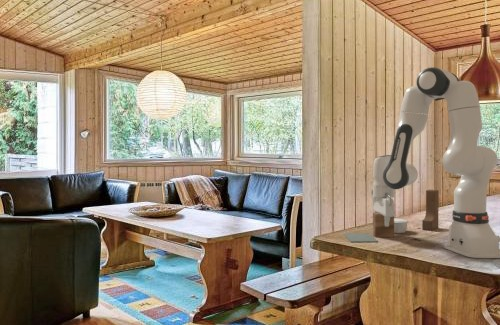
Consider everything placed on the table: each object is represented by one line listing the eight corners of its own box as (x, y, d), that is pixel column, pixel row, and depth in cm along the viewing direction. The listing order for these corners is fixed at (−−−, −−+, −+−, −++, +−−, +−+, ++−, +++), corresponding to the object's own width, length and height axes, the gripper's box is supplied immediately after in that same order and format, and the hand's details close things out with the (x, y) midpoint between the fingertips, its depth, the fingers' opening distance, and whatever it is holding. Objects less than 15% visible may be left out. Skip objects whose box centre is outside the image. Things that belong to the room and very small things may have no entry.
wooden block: (431, 230, 206) (432, 191, 205) (421, 229, 209) (422, 191, 208) (438, 227, 212) (438, 189, 212) (428, 226, 215) (429, 189, 215)
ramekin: (391, 234, 199) (391, 222, 199) (377, 230, 210) (377, 218, 209) (413, 233, 202) (413, 221, 202) (398, 228, 213) (398, 217, 212)
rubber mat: (378, 242, 184) (378, 241, 184) (351, 242, 184) (351, 241, 184) (368, 234, 200) (368, 233, 200) (343, 234, 200) (343, 233, 200)
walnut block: (394, 236, 194) (394, 213, 193) (375, 237, 194) (375, 214, 194) (391, 235, 198) (391, 212, 197) (372, 235, 198) (372, 212, 198)
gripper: (398, 195, 185) (398, 228, 185) (384, 190, 205) (384, 220, 206) (382, 195, 185) (382, 228, 185) (370, 190, 205) (370, 220, 206)
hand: (383, 224), depth 196 cm, fingers open, 8 cm apart
